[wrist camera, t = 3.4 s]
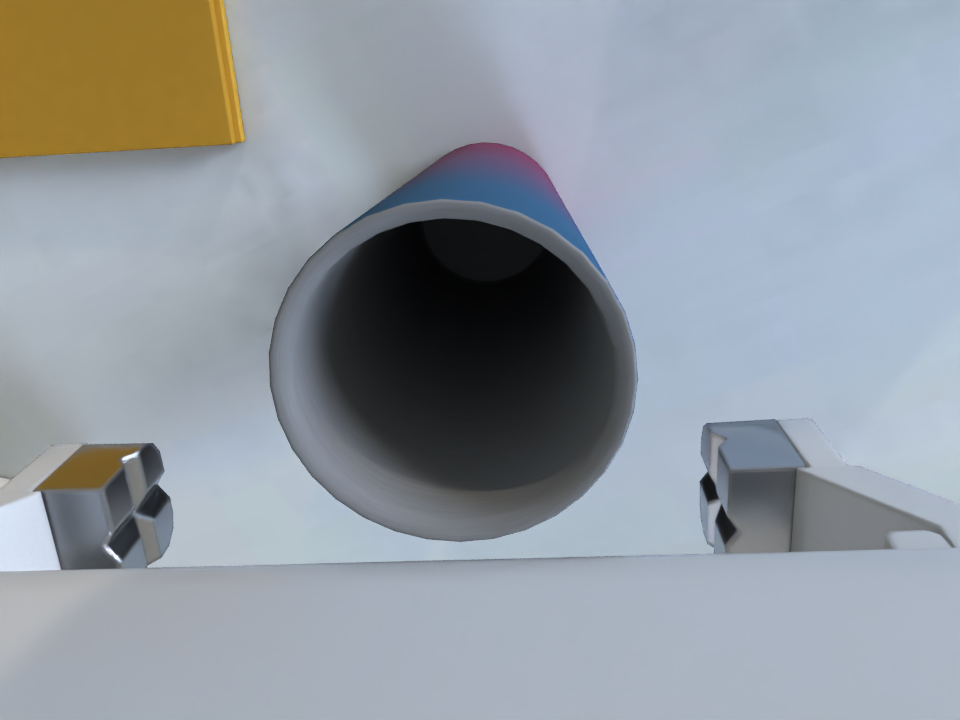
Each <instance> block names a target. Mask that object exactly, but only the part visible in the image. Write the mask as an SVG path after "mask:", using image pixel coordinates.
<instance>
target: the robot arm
mask: <svg viewBox="0 0 960 720" xmlns="http://www.w3.org/2000/svg"><path fill="white" fill-rule="evenodd" d="M701 455H702V458H703V460H704V463H705V465H706V468H707V470H708V472H707V473H706V474H705V476H704V477H703V478H702V479H701V481H700V511H701V522H702V527H703V532H704V535H705V538H706V541H707V544H709V545H710V546H712V547H714V554H684V555H643V556H603V557H563V558H523V559H483V560H443V561H403V562H363V563H323V564H283V565H243V566H203V567H163V568H147V565H149V564H151V563H153V562H155V561H156V560H158V559H160V558H162V556H163V554H164V553H165V551H166V550H167V548H168V547H169V544H170V540H171V536H172V532H173V510H172V505H171V499H170V497H169V496H168V495H167V494H166V493H165V492H164V491H163V490H162V489H161V488H160V487H159V486H158V485H157V484H158V482H159V480H160V479H161V477H162V475H163V473H164V467H163V463H162V458H161V454H160V451H159V450H158V449H157V447H156V446H155V445H154V444H153V443H132V444H87V443H81V444H65V445H51V446H50V447H49V448H48V449H46V450H45V451H44V452H43V453H42V454H41V455H39V456H38V457H37V458H36V459H35V460H33V461H32V462H31V463H30V464H29V465H28V466H26V467H25V468H24V469H23V470H22V471H20V472H19V473H18V474H17V475H16V476H15V477H13V478H12V479H11V480H10V481H9V482H8V483H6V484H5V485H4V486H3V487H2V488H0V720H960V504H958V503H955V502H952V501H950V500H947V499H945V498H942V497H939V496H937V495H934V494H932V493H929V492H926V491H924V490H921V489H918V488H916V487H913V486H911V485H908V484H905V483H903V482H900V481H898V480H895V479H892V478H890V477H887V476H885V475H882V474H879V473H877V472H874V471H872V470H869V469H866V468H864V467H861V466H848V465H847V464H846V462H845V461H844V460H843V458H842V457H841V456H840V454H839V453H838V452H837V451H836V449H835V448H834V447H833V445H832V444H831V443H830V442H829V440H828V439H827V438H826V436H825V435H824V434H823V432H822V431H821V430H820V429H819V427H818V426H817V425H816V423H815V422H814V421H813V420H812V419H809V418H802V419H788V420H775V419H772V420H754V421H736V422H719V423H706V424H705V425H704V426H703V430H702V437H701Z"/></svg>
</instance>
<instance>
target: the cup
mask: <svg viewBox="0 0 960 720" xmlns="http://www.w3.org/2000/svg"><path fill="white" fill-rule="evenodd" d="M269 368H270V388H271V392H272V396H273V400H274V404H275V408H276V412H277V417H278V420H279V422H280V424H281V426H282V428H283V431H284V433H285V435H286V437H287V439H288V441H289V443H290V446H291V448H292V450H293V451H294V452H295V454H296V455H297V456H298V458H299V459H300V461H301V462H302V463H303V465H304V466H305V467H306V469H307V470H308V472H309V473H310V474H311V476H312V477H313V478H314V479H315V480H316V481H317V482H318V483H320V484H321V485H322V486H323V487H324V488H325V489H326V490H327V491H328V492H329V493H330V494H331V495H332V496H333V497H334V498H335V499H337V500H338V501H340V502H341V503H343V504H344V505H346V506H347V507H349V508H350V509H352V510H353V511H355V512H356V513H358V514H359V515H361V516H362V517H364V518H366V519H368V520H371V521H373V522H375V523H377V524H380V525H382V526H384V527H387V528H389V529H391V530H393V531H397V532H401V533H405V534H409V535H413V536H417V537H421V538H425V539H432V540H445V541H458V542H463V541H474V540H484V539H494V538H498V537H502V536H505V535H509V534H513V533H516V532H520V531H524V530H527V529H529V528H531V527H533V526H535V525H537V524H539V523H541V522H544V521H546V520H548V519H550V518H552V517H554V516H556V515H557V514H559V513H560V512H562V511H563V510H564V509H566V508H567V507H568V506H570V505H571V504H573V503H574V502H575V501H577V500H578V499H579V498H581V497H582V496H583V495H584V494H585V493H586V492H587V491H588V490H589V489H590V488H591V487H592V485H593V484H594V483H595V482H596V481H597V480H598V479H599V478H600V477H601V476H602V475H603V474H604V473H605V471H606V470H607V468H608V466H609V465H610V463H611V461H612V460H613V458H614V457H615V455H616V453H617V452H618V450H619V448H620V447H621V445H622V443H623V441H624V438H625V435H626V432H627V429H628V427H629V424H630V421H631V418H632V415H633V413H634V405H635V397H636V390H637V382H638V374H637V362H636V350H635V343H634V340H633V336H632V333H631V330H630V327H629V323H628V320H627V317H626V313H625V311H624V309H623V307H622V305H621V303H620V302H619V300H618V298H617V296H616V294H615V293H614V291H613V289H612V287H611V285H610V284H609V282H608V280H607V278H606V276H605V275H604V273H603V271H602V269H601V268H600V266H599V264H598V263H597V261H596V259H595V257H594V256H593V254H592V252H591V250H590V249H589V247H588V245H587V243H586V242H585V240H584V238H583V236H582V235H581V233H580V231H579V229H578V228H577V226H576V224H575V222H574V221H573V219H572V217H571V215H570V214H569V212H568V210H567V208H566V207H565V205H564V203H563V202H562V200H561V198H560V196H559V195H558V193H557V191H556V189H555V188H554V186H553V184H552V182H551V181H550V179H549V177H548V175H547V174H546V173H545V171H544V170H543V169H542V168H541V167H540V166H539V164H538V163H537V162H535V161H534V160H533V159H532V158H530V157H529V156H528V155H526V154H525V153H523V152H521V151H519V150H517V149H515V148H513V147H509V146H506V145H502V144H498V143H477V144H470V145H466V146H464V147H461V148H458V149H455V150H454V151H452V152H450V153H449V154H447V155H445V156H444V157H442V158H441V159H439V160H438V161H436V162H435V163H434V164H432V165H431V166H430V167H428V168H427V169H425V170H424V171H423V172H421V173H420V174H418V175H417V176H416V177H414V178H413V179H411V180H410V181H409V182H407V183H406V184H404V185H403V186H402V187H400V188H399V189H398V190H396V191H395V192H393V193H392V194H391V195H389V196H388V197H386V198H385V199H384V200H382V201H381V202H379V203H378V204H377V205H375V206H374V207H372V208H371V209H370V210H368V211H367V212H365V213H364V214H363V215H361V216H360V217H359V218H357V219H356V220H354V221H353V222H352V223H350V224H349V225H347V226H346V227H345V228H343V229H342V230H340V231H339V232H338V233H336V234H335V235H334V236H333V237H332V238H331V239H329V240H328V241H327V242H326V243H325V244H324V245H323V246H322V247H321V248H320V249H319V250H318V251H316V252H315V253H314V254H313V255H312V256H311V257H310V258H309V259H308V260H307V262H306V263H305V265H304V266H303V267H302V269H301V270H300V272H299V273H298V275H297V276H296V277H295V279H294V280H293V282H292V283H291V285H290V286H289V287H288V290H287V292H286V294H285V297H284V299H283V302H282V304H281V306H280V309H279V311H278V314H277V316H276V318H275V322H274V328H273V333H272V339H271V344H270V350H269Z"/></svg>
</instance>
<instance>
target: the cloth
mask: <svg viewBox="0 0 960 720" xmlns="http://www.w3.org/2000/svg"><path fill="white" fill-rule="evenodd" d="M244 141H245V136H244V129H243V123H242V116H241V110H240V103H239V97H238V90H237V84H236V77H235V71H234V64H233V58H232V52H231V45H230V39H229V32H228V26H227V19H226V13H225V6H224V0H0V158H8V157H25V156H42V155H59V154H76V153H93V152H110V151H127V150H144V149H161V148H178V147H195V146H212V145H229V144H234V143H241V142H244Z"/></svg>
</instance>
